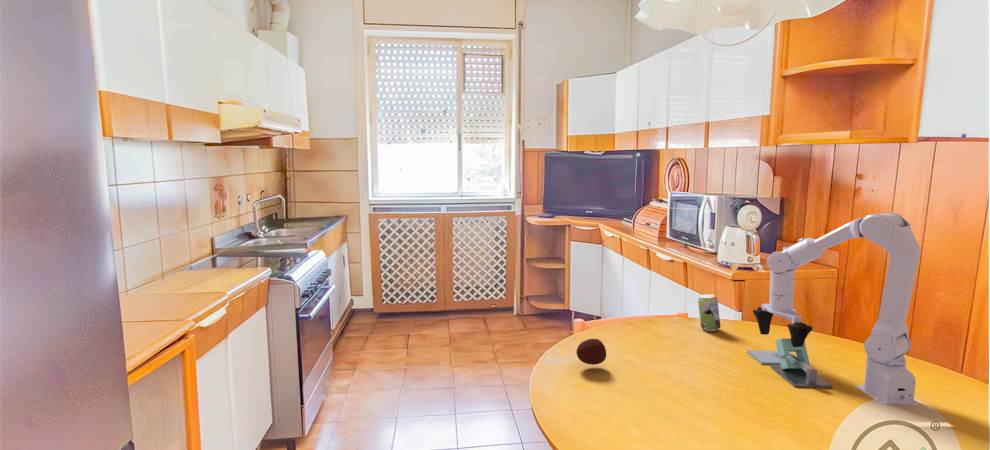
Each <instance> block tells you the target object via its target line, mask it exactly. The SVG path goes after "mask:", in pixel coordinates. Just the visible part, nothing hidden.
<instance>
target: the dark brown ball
mask: <svg viewBox="0 0 990 450" xmlns="http://www.w3.org/2000/svg"><path fill="white" fill-rule="evenodd" d="M576 355H577V358H578V360H579V361H580V362H582V363H584V364H586V365H598V364H602V363H603V362H604V361H605V360H606V359H607V349H606V346H605V344H604V343H603V341H601V340H600V339H597V338H588V339H586V340H583V341H581V342H580V343H579V344H578V345H577V348H576Z"/></svg>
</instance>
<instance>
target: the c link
mask: <svg viewBox="0 0 990 450" xmlns="http://www.w3.org/2000/svg"><path fill="white" fill-rule="evenodd" d="M805 341H806V340H805ZM805 341H804V344H803V347H793V345H792V343H791V338H779V339H775V345H776V351H778V355H779V357H784V356H788V355H789V352H791V353H795V356H796V357H797V358H799V359H800V360H801V361H803V362H804V363H806V364H807V365H808V366H810V367H811V363H810V359H809V355H808V350H807V347H806V346H807V345H806V342H805ZM793 350H801V351H793ZM780 365H781V369H801V368H800V367H799V366H797V365H796V364H791V360H790V359H783V360H780Z"/></svg>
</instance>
